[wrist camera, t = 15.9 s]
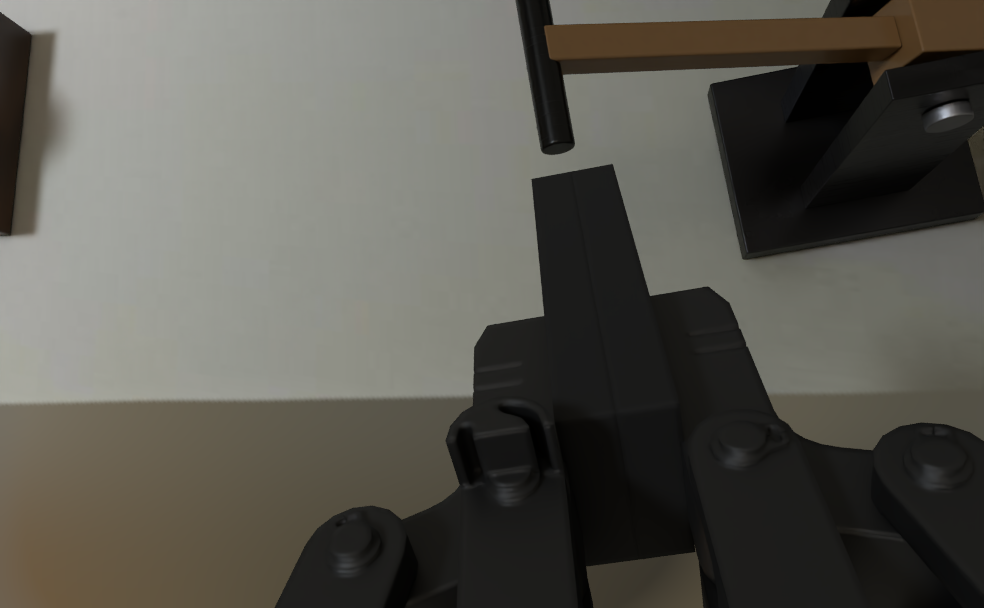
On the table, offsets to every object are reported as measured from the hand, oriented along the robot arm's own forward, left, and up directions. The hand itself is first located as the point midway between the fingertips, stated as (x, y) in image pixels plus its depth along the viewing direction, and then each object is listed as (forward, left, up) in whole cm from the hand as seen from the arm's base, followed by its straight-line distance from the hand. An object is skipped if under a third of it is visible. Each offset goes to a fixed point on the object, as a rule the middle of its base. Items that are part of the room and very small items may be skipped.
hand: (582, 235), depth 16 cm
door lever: (+9, +1, -10) cm, 14 cm away
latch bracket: (+14, -3, -22) cm, 26 cm away
